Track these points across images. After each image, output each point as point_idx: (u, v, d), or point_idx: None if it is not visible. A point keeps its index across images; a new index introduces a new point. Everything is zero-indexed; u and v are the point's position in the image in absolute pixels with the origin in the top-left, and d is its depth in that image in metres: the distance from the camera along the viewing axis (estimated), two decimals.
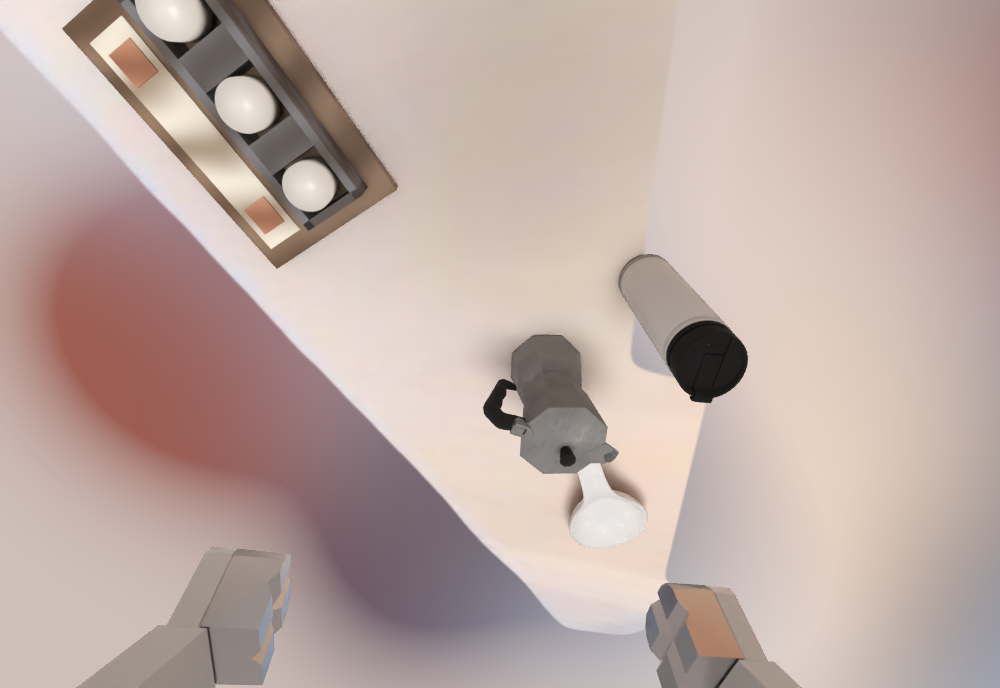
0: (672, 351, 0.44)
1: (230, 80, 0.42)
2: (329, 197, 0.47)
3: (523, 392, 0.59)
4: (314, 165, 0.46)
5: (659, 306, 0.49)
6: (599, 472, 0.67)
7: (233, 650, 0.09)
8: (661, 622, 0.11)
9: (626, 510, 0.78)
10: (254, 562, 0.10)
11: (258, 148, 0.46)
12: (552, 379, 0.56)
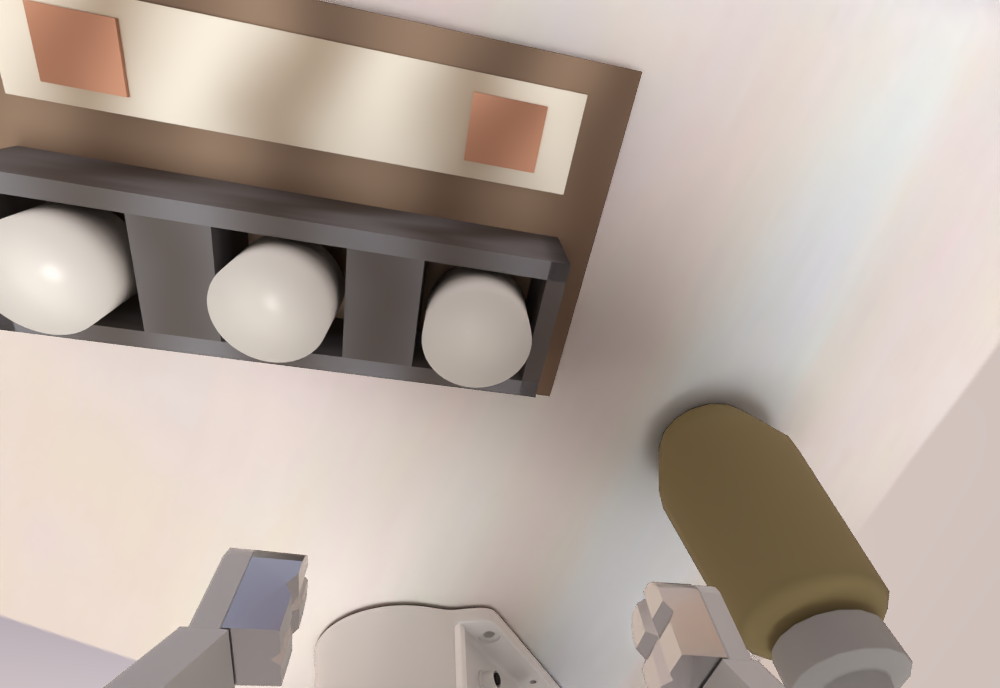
0: None
1: (319, 333, 0.20)
2: None
3: None
4: (83, 329, 0.19)
5: None
6: None
7: (253, 651, 0.09)
8: (646, 621, 0.11)
9: None
10: (273, 563, 0.10)
11: (195, 239, 0.19)
12: None
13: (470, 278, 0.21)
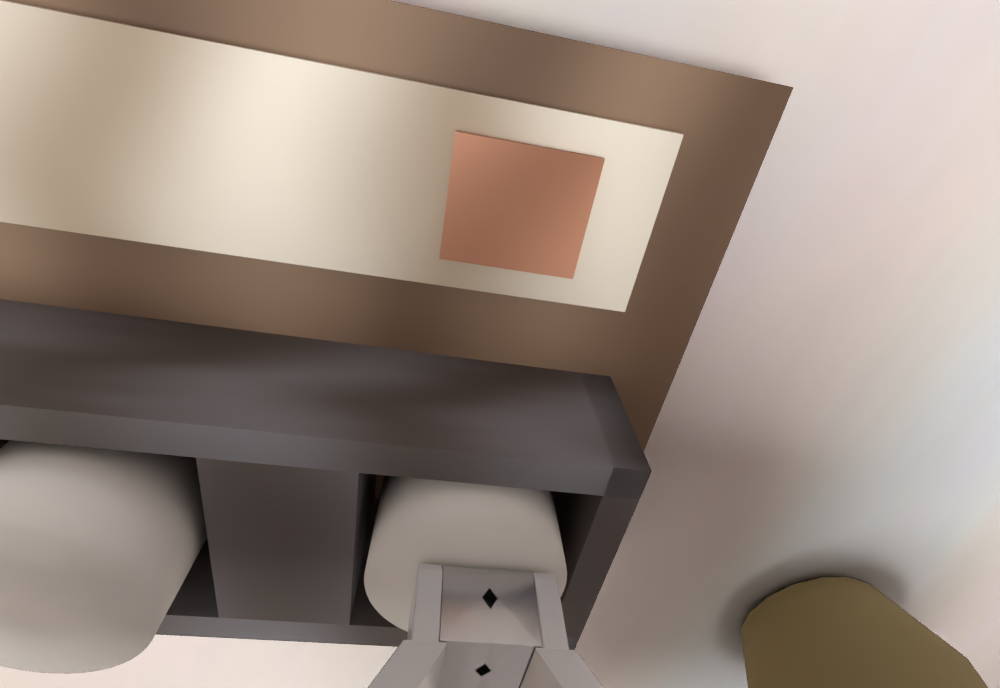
0: None
1: (141, 631, 0.10)
2: None
3: None
4: None
5: None
6: None
7: (461, 662, 0.09)
8: None
9: None
10: (464, 578, 0.10)
11: None
12: None
13: None
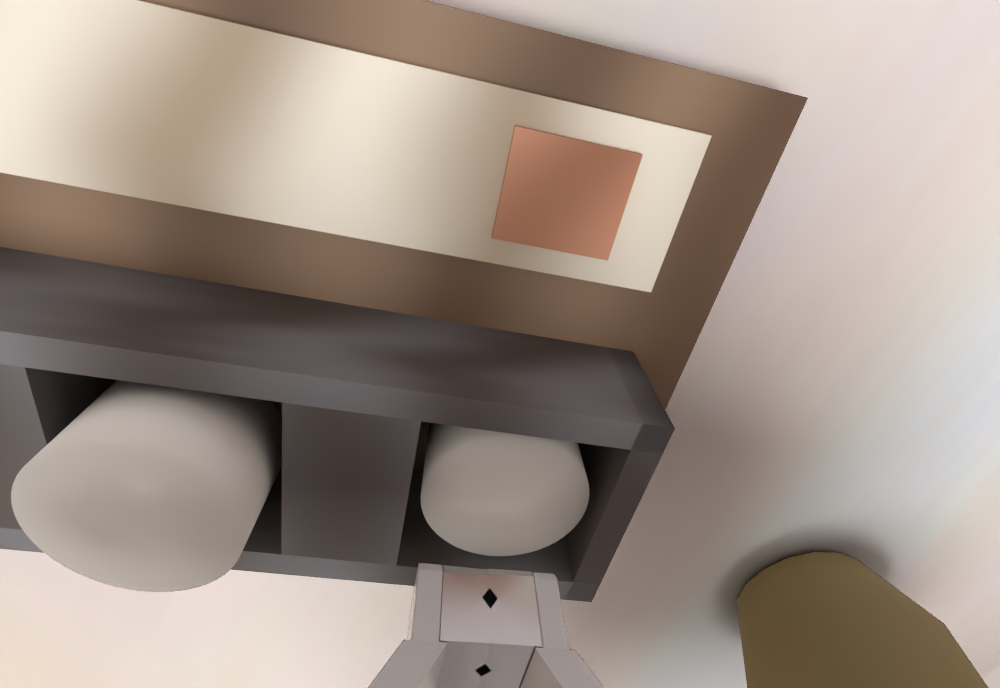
0: None
1: (229, 553, 0.11)
2: None
3: None
4: None
5: None
6: None
7: (461, 662, 0.09)
8: None
9: None
10: (464, 578, 0.10)
11: None
12: None
13: None
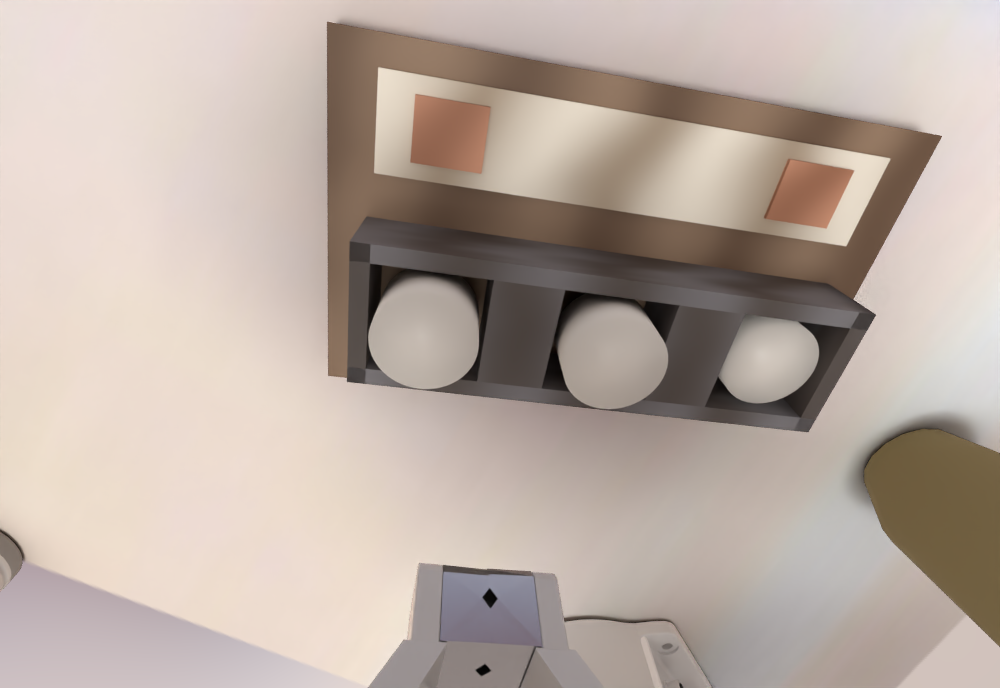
0: None
1: (654, 383, 0.22)
2: (378, 362, 0.21)
3: None
4: (447, 383, 0.22)
5: None
6: None
7: (461, 662, 0.09)
8: None
9: None
10: (464, 578, 0.10)
11: (548, 301, 0.21)
12: None
13: None
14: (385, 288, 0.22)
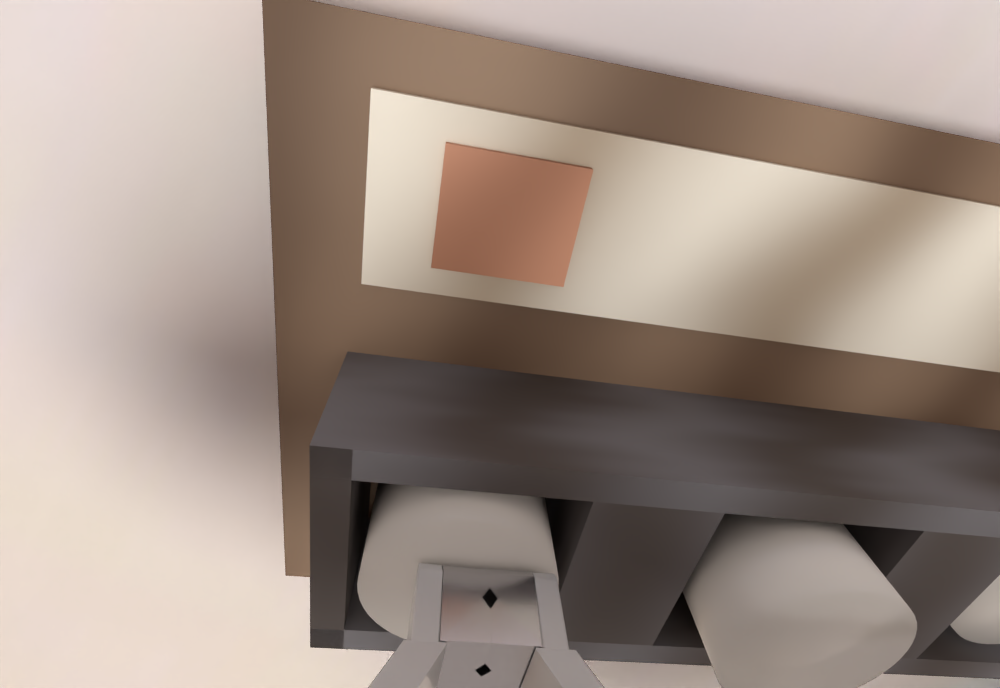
0: None
1: (875, 672, 0.12)
2: (375, 616, 0.12)
3: None
4: None
5: None
6: None
7: (461, 662, 0.09)
8: None
9: None
10: (464, 578, 0.10)
11: (689, 530, 0.11)
12: None
13: None
14: None
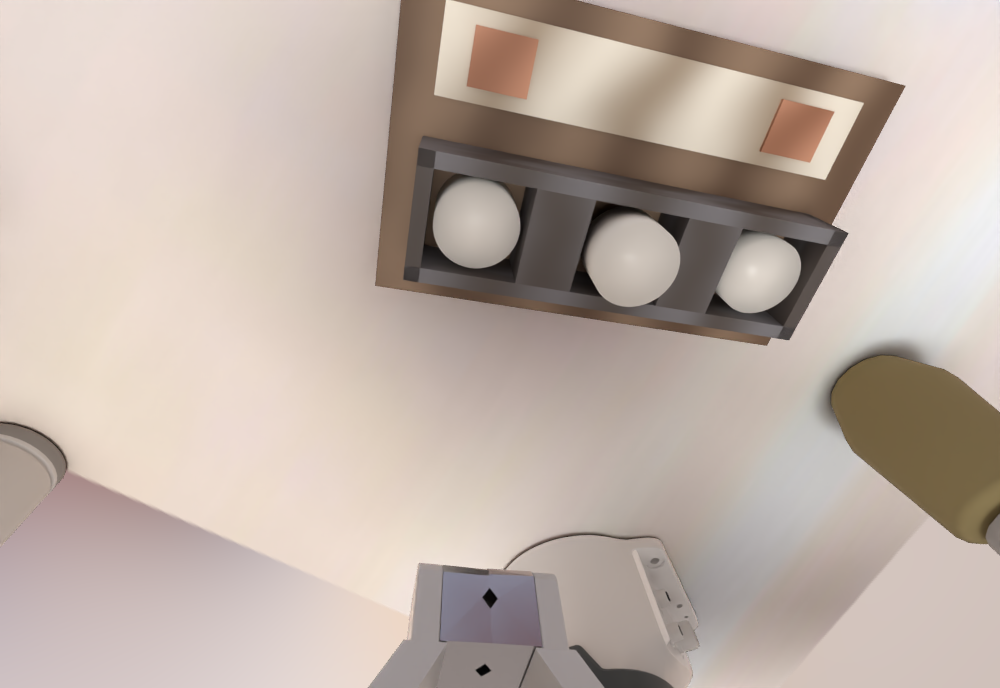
0: None
1: (667, 283, 0.26)
2: (439, 242, 0.26)
3: None
4: (491, 264, 0.27)
5: None
6: None
7: (461, 662, 0.09)
8: None
9: None
10: (464, 578, 0.10)
11: (581, 210, 0.25)
12: None
13: (755, 231, 0.28)
14: None
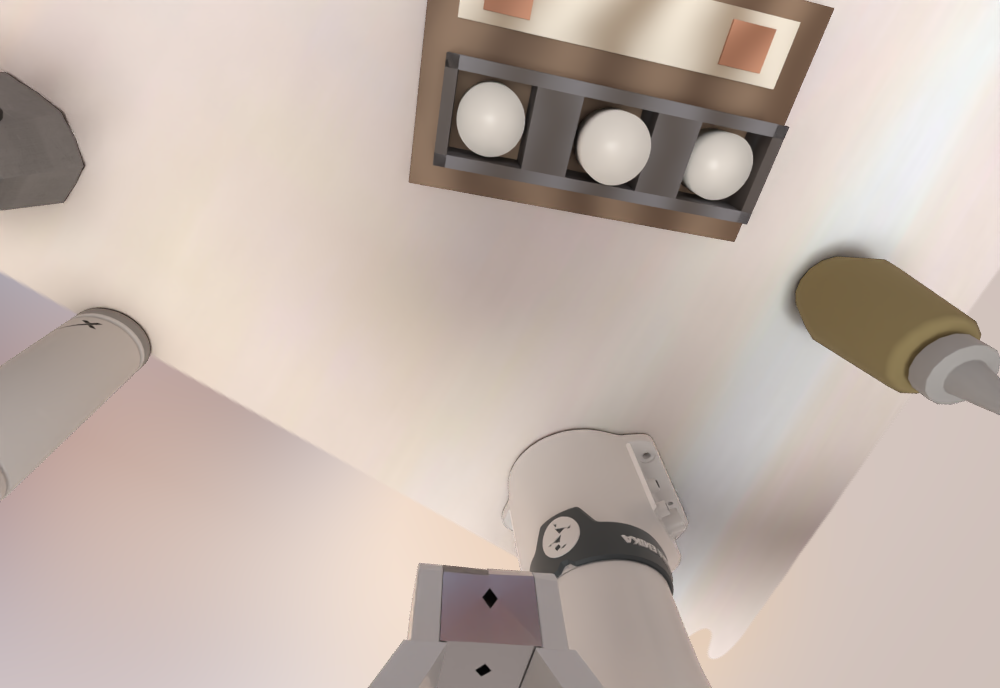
0: None
1: (641, 164, 0.33)
2: (461, 134, 0.33)
3: None
4: (502, 154, 0.34)
5: (51, 419, 0.34)
6: None
7: (461, 662, 0.09)
8: None
9: None
10: (464, 578, 0.10)
11: (572, 105, 0.32)
12: None
13: (716, 130, 0.35)
14: (462, 96, 0.35)
